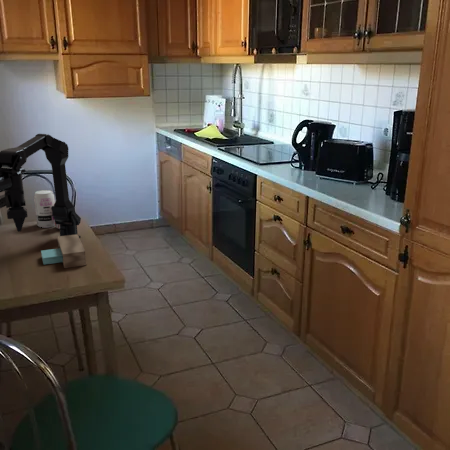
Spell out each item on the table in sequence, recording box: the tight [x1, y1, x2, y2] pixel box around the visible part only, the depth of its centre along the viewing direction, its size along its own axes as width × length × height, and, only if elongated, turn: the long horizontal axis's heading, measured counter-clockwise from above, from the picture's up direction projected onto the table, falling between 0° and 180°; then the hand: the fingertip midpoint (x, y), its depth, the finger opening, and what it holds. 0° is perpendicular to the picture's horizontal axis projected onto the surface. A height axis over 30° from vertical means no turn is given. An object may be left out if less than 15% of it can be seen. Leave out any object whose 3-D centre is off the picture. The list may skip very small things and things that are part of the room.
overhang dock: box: [56, 233, 87, 269], centre depth 189 cm, size 8×20×5 cm, turn 22°
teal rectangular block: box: [40, 248, 63, 265], centre depth 188 cm, size 12×8×2 cm, turn 113°
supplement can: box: [33, 189, 56, 229], centre depth 224 cm, size 8×8×15 cm
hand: (19, 231), depth 180 cm, fingers closed
